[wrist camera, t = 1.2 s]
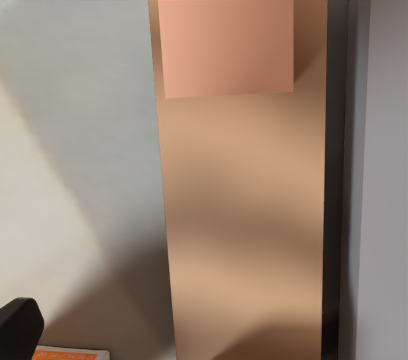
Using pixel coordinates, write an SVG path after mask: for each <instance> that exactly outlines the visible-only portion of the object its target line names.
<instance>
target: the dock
mask: <svg viewBox="0 0 408 360" xmlns="http://www.w3.org/2000/svg"><path fill="white" fill-rule="evenodd" d="M338 360H408V0H349V5H348V39H347V72H346V105H345V139H344V172H343V205H342V238H341V272H340V305H339V338H338Z"/></svg>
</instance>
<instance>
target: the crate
mask: <svg viewBox="0 0 408 360" xmlns="http://www.w3.org/2000/svg"><path fill="white" fill-rule="evenodd" d="M158 9H159V22H160V36H161V49H162V63H163V76H164V90H165V99H166V98H185V97H204V96H223V95H242V94H261V93H280V92H293V0H158Z"/></svg>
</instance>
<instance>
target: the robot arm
mask: <svg viewBox="0 0 408 360" xmlns="http://www.w3.org/2000/svg"><path fill="white" fill-rule="evenodd" d="M43 329H44V319H43V317H42V314H41V312H40V309H39V307H38V305H37V302H36V301H35V300H34V299H33V298H25V297H19V298H16V299H14V300H13V301H11V302H9V303H8V304H6V305H5V306H3V307H2V308H0V360H32V358H33V355H34V353H35V350H36V348H37V345H38V342H39V340H40V337H41V335H42V332H43Z"/></svg>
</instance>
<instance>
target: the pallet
mask: <svg viewBox="0 0 408 360" xmlns="http://www.w3.org/2000/svg"><path fill="white" fill-rule="evenodd" d="M327 3H328V0H293V92H280V93H261V94H242V95H223V96H204V97H185V98H166V99H165V90H164V76H163V63H162V49H161V36H160V22H159V9H158V0H148V6H149V19H150V32H151V44H152V57H153V69H154V82H155V95H156V107H157V120H158V133H159V145H160V158H161V170H162V183H163V196H164V208H165V221H166V234H167V246H168V259H169V271H170V284H171V297H172V309H173V322H174V335H175V347H176V360H321V327H322V273H323V219H324V165H325V111H326V57H327Z"/></svg>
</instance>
